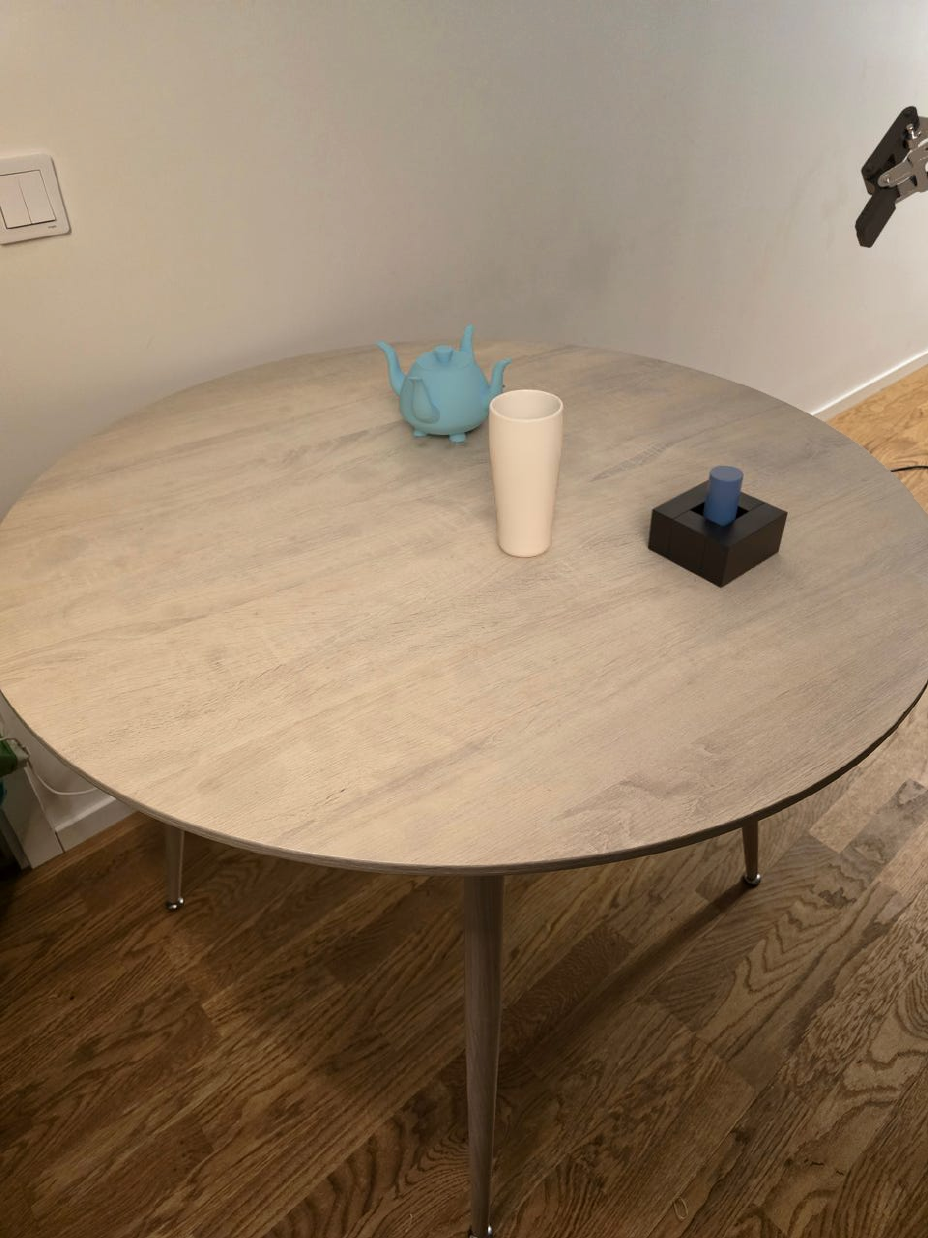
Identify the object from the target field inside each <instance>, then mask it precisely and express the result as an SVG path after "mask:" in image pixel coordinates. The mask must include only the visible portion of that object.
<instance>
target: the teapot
mask: <svg viewBox="0 0 928 1238" xmlns="http://www.w3.org/2000/svg"><path fill="white" fill-rule="evenodd" d="M474 330H475V327H474V325H472V324H470V325H467V326H466V327H465V329H464V330H463V332H462V336H461V340H460V345H459V350H458V349H454V347H453V346H451V345H446V344H442V345H437V346H435V347H434V348H433V350H430V351H426V352H423V353H422V354H420V355H419V356H418V357H416V359H415V360H414V361H413V363H412V364H411V366H410V368H409V370H408V371H407V374H405V373H404V371H403V370H402V369H401V366H400V362H399V361H400V360H399V357H398V355H397V353H396V351H395V349H394V348H393V347H392V346H390V345H389V344H387V343H385V342H382V341H375V344H376V345H377V347H379V348H380V349H381V350H382V352H383V353H384V355H385V358H386V361H387V369H388V380H389V384H390V387H391V389H392V391H393V392H394V394H395V395H396V396H397V397H398V398H399V399H398V403H399V404H398V409H399V413H400V415H401V416H402V418H403V419H404V421H406V423H408V424H409V425H410V426H411V427H412V428H414V429H413V431H412V435H413V436H415V437H426V436H428V435H437V436H448V440H449V441H450V442H452V443H463V442H465V441H466V440H467V436H466V432H469V431H470V432H471V431H472V430H474V429H476V428H478V427H479V426H481V425H482V423H484V422H485V421H486V419H487V418H489V405H490V402H491V401H492V400H493V399H494V398H495V397H497V396H498V395H500V394H503V393H504V372H505V370H506V367H507V366H508V365H509V364H510V363H511V362H513V361H514V358H506V359H502V360H498V361H497V362H496V363H495V364H494V366H493V367H492V368H493V369H492V372H491V379H490V382H489V381H488V379H487V377H486V375H485V373H484V371H483V370H482V368H481V367H480V366H479V364H478V362H476V359H475V354H474V347H473V336H474Z"/></svg>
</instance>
